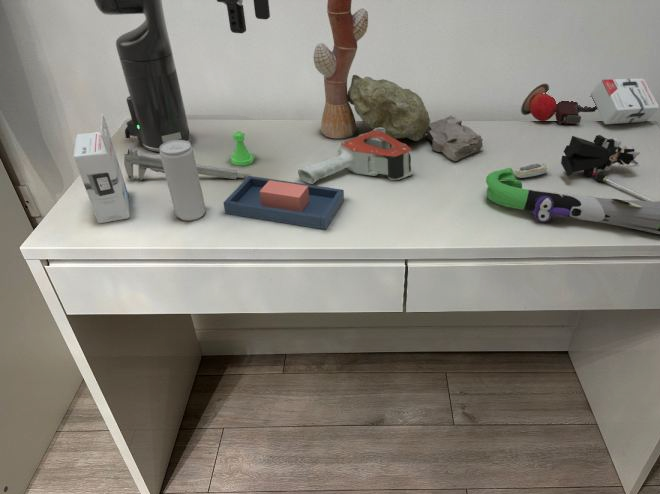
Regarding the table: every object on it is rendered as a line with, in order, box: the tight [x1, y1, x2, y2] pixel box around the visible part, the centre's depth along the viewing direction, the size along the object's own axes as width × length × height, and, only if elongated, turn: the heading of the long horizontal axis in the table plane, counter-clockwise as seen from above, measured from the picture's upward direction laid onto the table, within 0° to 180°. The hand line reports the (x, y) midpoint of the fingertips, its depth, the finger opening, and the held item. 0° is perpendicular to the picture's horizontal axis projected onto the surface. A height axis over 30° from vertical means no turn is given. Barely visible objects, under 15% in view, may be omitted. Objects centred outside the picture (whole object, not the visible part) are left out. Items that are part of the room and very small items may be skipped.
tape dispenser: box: [297, 127, 414, 185], centre depth 103 cm, size 18×5×20 cm
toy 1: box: [485, 167, 660, 235], centre depth 92 cm, size 6×11×30 cm
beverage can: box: [159, 140, 207, 222], centre depth 87 cm, size 5×5×12 cm
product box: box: [73, 112, 131, 224], centre depth 87 cm, size 9×5×15 cm, turn 21°
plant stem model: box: [313, 0, 369, 140], centre depth 107 cm, size 10×7×30 cm
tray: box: [222, 175, 345, 230], centre depth 93 cm, size 18×10×2 cm, turn 75°
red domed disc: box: [520, 82, 557, 122], centre depth 122 cm, size 8×8×6 cm
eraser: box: [260, 180, 309, 212], centre depth 92 cm, size 4×7×3 cm, turn 75°
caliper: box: [123, 146, 245, 182], centre depth 98 cm, size 20×1×6 cm, turn 94°
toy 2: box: [560, 134, 655, 201], centre depth 97 cm, size 8×20×15 cm
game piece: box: [230, 131, 255, 167], centre depth 104 cm, size 4×4×6 cm
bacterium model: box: [513, 163, 551, 179], centre depth 102 cm, size 12×2×5 cm
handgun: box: [554, 101, 598, 125], centre depth 127 cm, size 24×3×15 cm
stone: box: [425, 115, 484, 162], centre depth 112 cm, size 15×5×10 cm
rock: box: [347, 74, 431, 141], centre depth 114 cm, size 15×19×15 cm
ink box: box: [590, 77, 660, 125], centre depth 122 cm, size 8×5×12 cm
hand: (251, 25), depth 84 cm, fingers open, 8 cm apart
